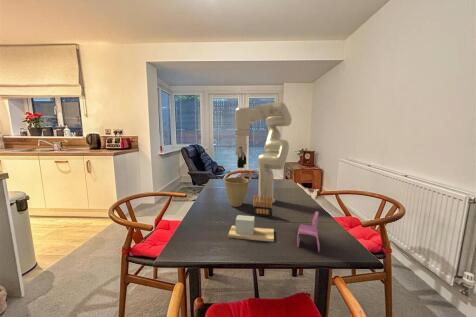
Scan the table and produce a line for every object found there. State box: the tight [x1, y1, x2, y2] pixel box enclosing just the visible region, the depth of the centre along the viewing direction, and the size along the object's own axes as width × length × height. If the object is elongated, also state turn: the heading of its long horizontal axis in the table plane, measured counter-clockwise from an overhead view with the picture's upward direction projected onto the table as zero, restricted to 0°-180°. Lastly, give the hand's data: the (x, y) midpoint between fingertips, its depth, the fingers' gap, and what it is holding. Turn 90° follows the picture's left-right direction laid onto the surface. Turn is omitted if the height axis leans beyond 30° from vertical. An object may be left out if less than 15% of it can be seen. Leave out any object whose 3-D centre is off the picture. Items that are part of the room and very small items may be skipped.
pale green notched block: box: [235, 214, 256, 235], centre depth 95 cm, size 5×8×6 cm, turn 81°
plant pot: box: [223, 176, 249, 208], centre depth 130 cm, size 15×15×16 cm
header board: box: [227, 225, 275, 242], centre depth 95 cm, size 9×20×5 cm, turn 81°
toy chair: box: [296, 210, 320, 253], centre depth 85 cm, size 8×9×15 cm
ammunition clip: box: [252, 193, 273, 218], centre depth 115 cm, size 11×2×12 cm, turn 77°
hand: (242, 166), depth 109 cm, fingers open, 9 cm apart
